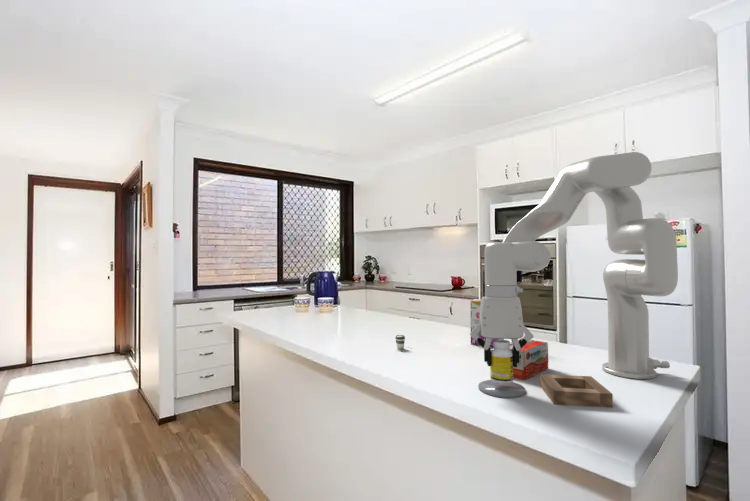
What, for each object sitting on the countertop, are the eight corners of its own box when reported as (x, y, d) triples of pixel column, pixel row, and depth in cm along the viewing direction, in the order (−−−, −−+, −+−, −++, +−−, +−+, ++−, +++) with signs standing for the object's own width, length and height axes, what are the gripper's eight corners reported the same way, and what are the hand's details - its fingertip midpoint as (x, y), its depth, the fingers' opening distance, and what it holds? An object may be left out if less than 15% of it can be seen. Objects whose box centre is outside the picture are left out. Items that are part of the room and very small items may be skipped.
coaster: (520, 383, 99) (520, 380, 99) (529, 399, 88) (529, 396, 88) (476, 381, 101) (476, 378, 101) (480, 396, 90) (480, 393, 90)
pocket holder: (591, 388, 95) (591, 376, 95) (612, 407, 83) (612, 393, 83) (540, 386, 97) (539, 374, 97) (553, 404, 85) (553, 390, 85)
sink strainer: (422, 347, 138) (422, 334, 138) (408, 355, 128) (407, 340, 128) (393, 344, 145) (392, 330, 145) (377, 351, 134) (377, 337, 134)
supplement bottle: (515, 385, 91) (514, 344, 91) (491, 383, 92) (490, 343, 92) (511, 377, 97) (511, 339, 97) (489, 376, 98) (488, 338, 98)
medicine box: (522, 363, 117) (521, 337, 117) (549, 369, 111) (548, 341, 111) (497, 374, 107) (496, 346, 107) (525, 381, 101) (525, 351, 101)
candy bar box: (470, 344, 141) (469, 300, 141) (474, 341, 146) (473, 298, 146) (501, 348, 135) (500, 302, 136) (504, 345, 140) (504, 300, 140)
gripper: (533, 290, 97) (534, 362, 97) (464, 290, 100) (465, 359, 100) (541, 294, 90) (542, 371, 89) (466, 293, 93) (467, 368, 92)
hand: (501, 364), depth 95 cm, fingers closed on supplement bottle, 5 cm apart
